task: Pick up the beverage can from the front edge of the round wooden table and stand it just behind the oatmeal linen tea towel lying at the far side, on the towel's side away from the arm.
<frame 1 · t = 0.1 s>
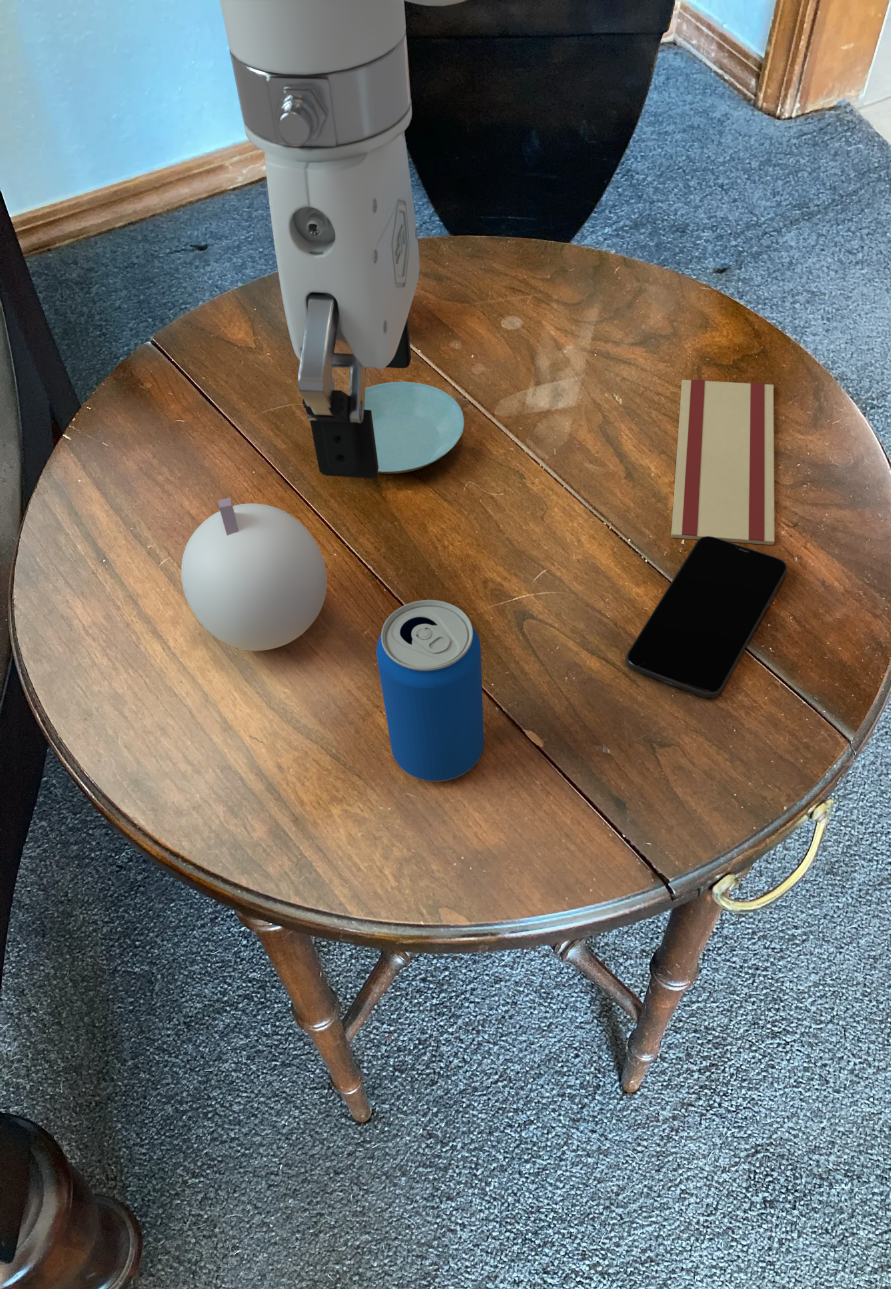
hand: (367, 416, 61), 22 cm above the table, tool pointing down, fingers open, 9 cm apart
tea towel: (724, 459, 91), on the table
smartphone: (707, 618, 81), on the table
ornament: (268, 627, 83), on the table
beverage can: (438, 751, 76), on the table
vase: (369, 329, 104), on the table
saucer: (397, 447, 94), on the table
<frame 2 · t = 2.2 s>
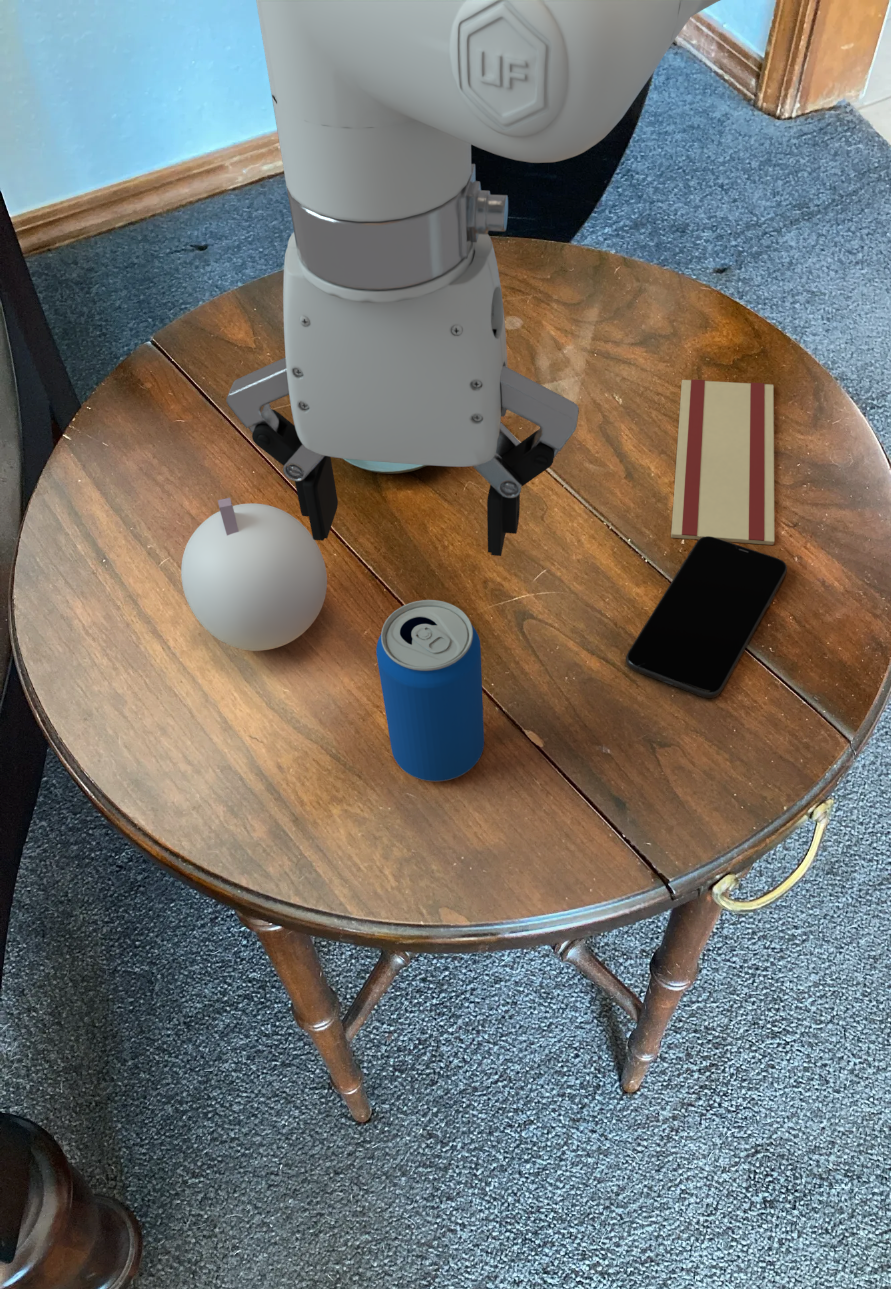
hand: (411, 530, 59), 20 cm above the table, tool pointing down, fingers open, 9 cm apart
nothing on the table moved.
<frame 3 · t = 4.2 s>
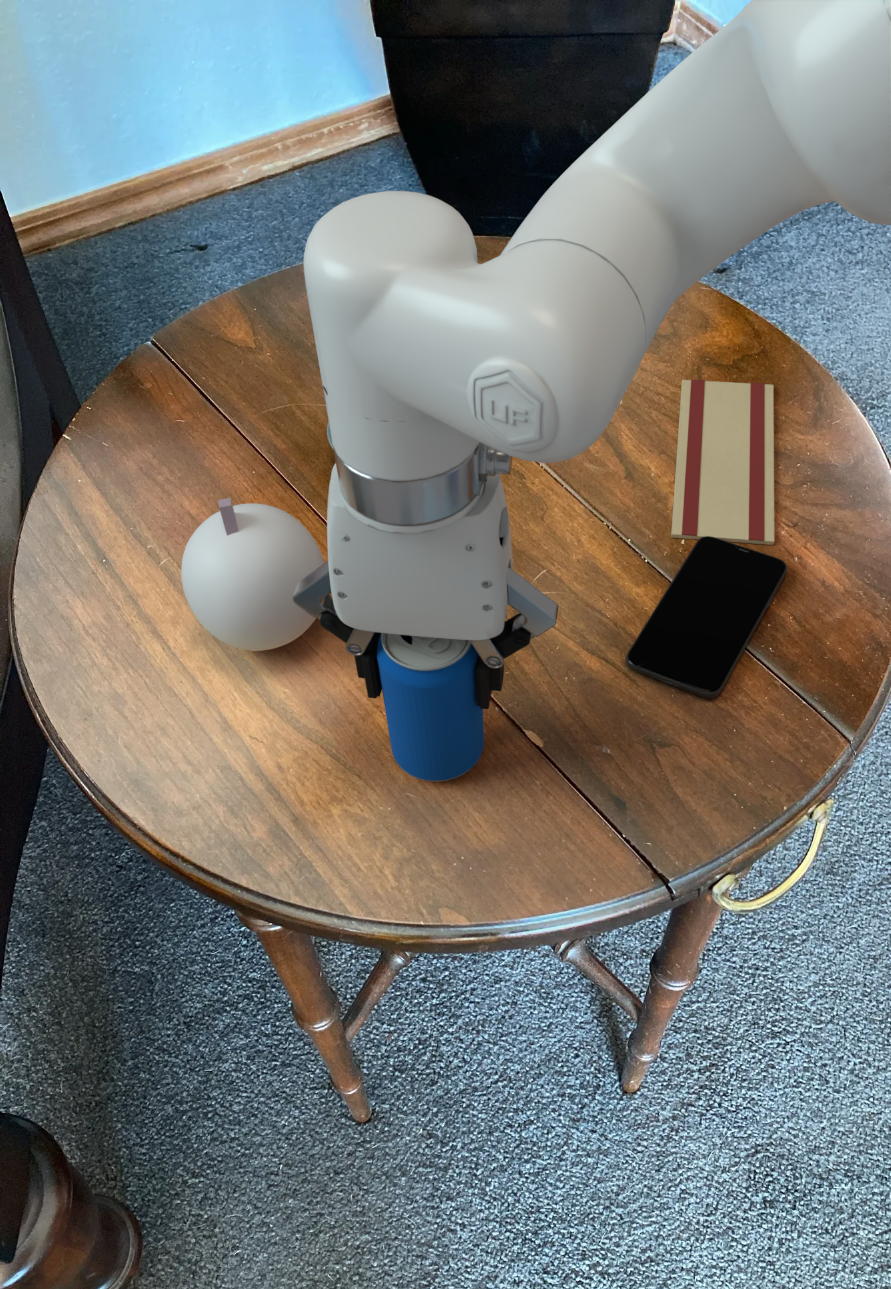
hand: (431, 685, 70), 7 cm above the table, tool pointing down, fingers closed on beverage can, 6 cm apart
beverage can: (438, 751, 76), on the table, touching gripper
everything else where it was.
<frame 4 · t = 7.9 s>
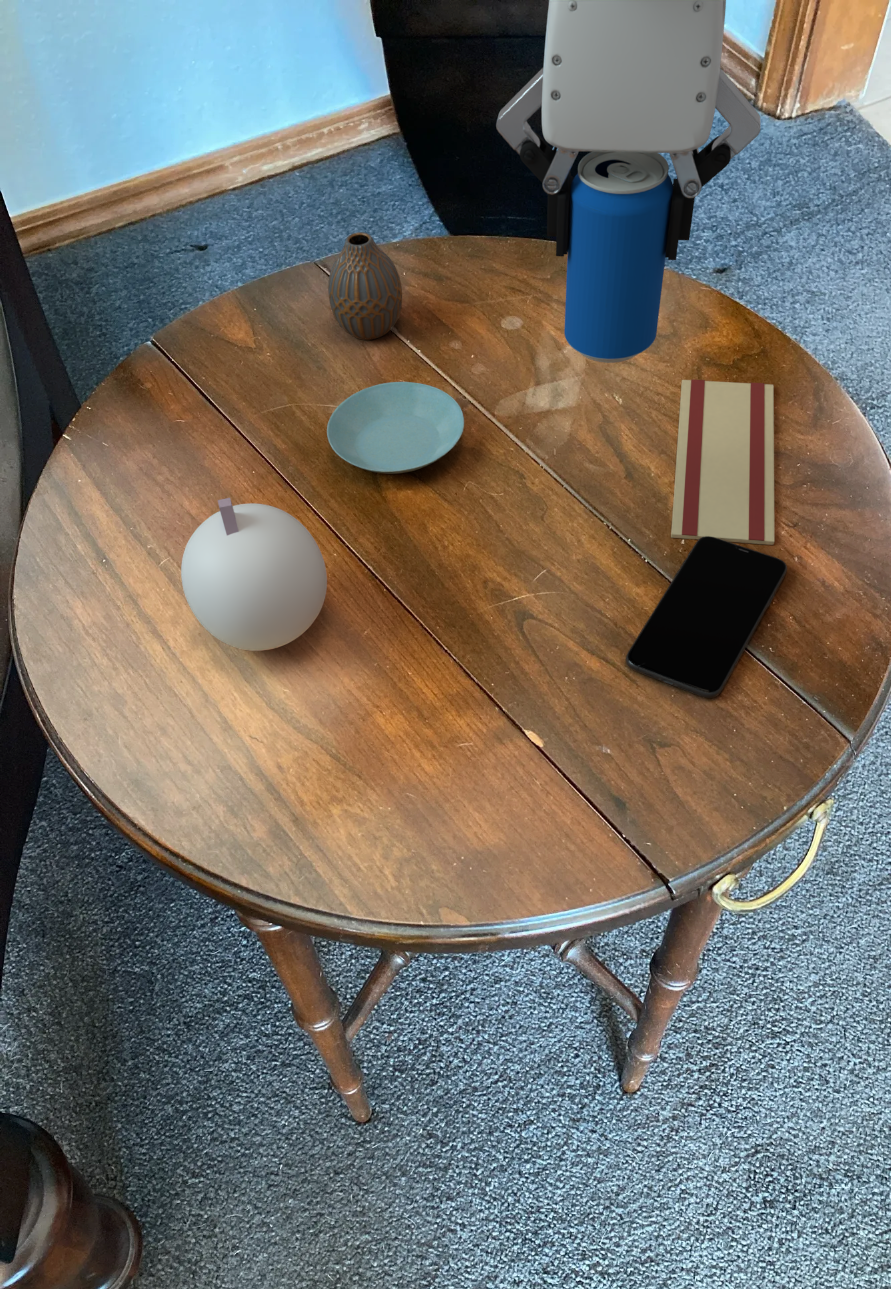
hand: (617, 244, 71), 22 cm above the table, tool pointing down, fingers closed on beverage can, 6 cm apart
beverage can: (609, 344, 77), point 14 cm above the table, touching gripper
everything else where it was.
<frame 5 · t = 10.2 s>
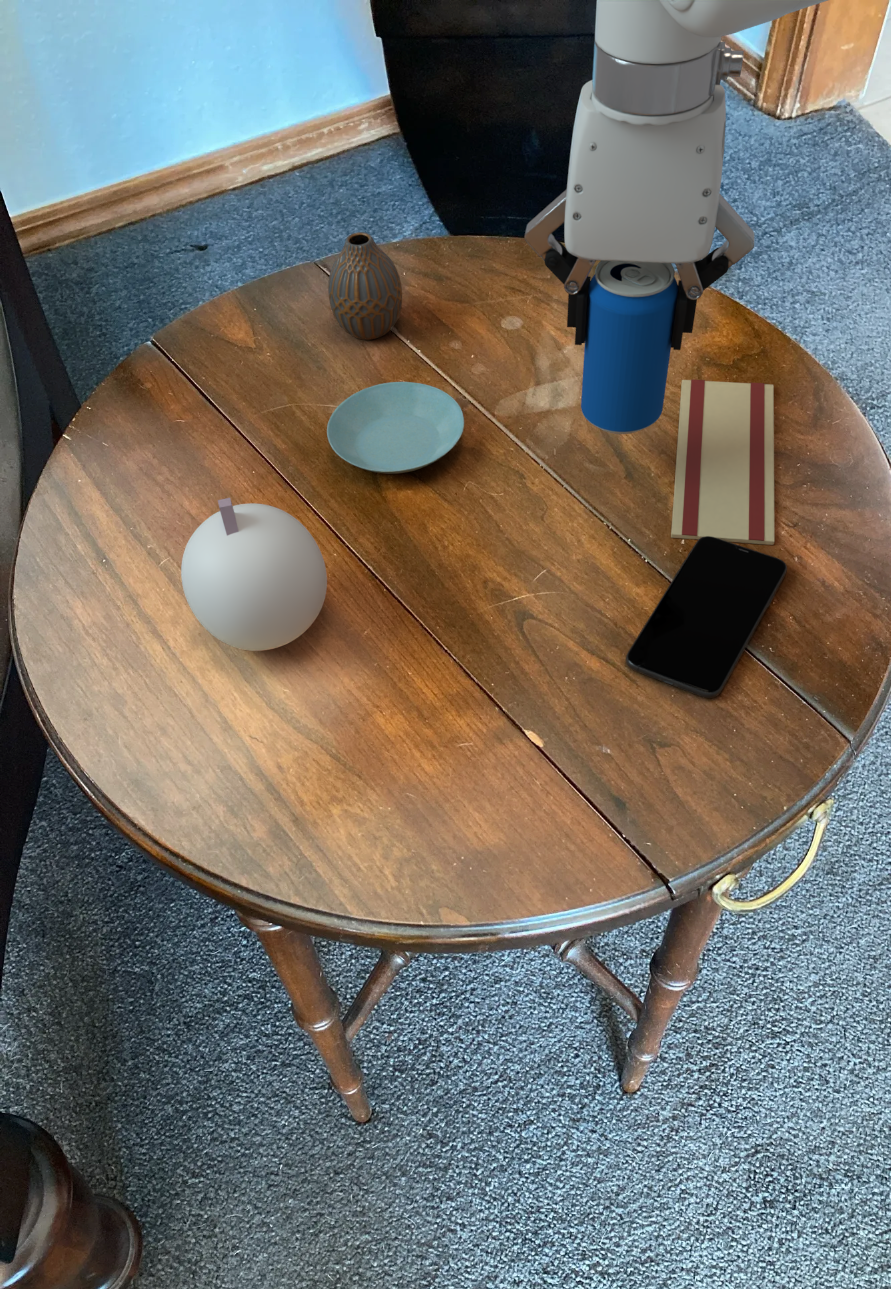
hand: (628, 334, 81), 12 cm above the table, tool pointing down, fingers closed on beverage can, 6 cm apart
beverage can: (620, 416, 87), point 5 cm above the table, touching gripper
everything else where it was.
when the fingers open (7 cm above the table, at t = 12.0 s): beverage can stays where it is, on the table.
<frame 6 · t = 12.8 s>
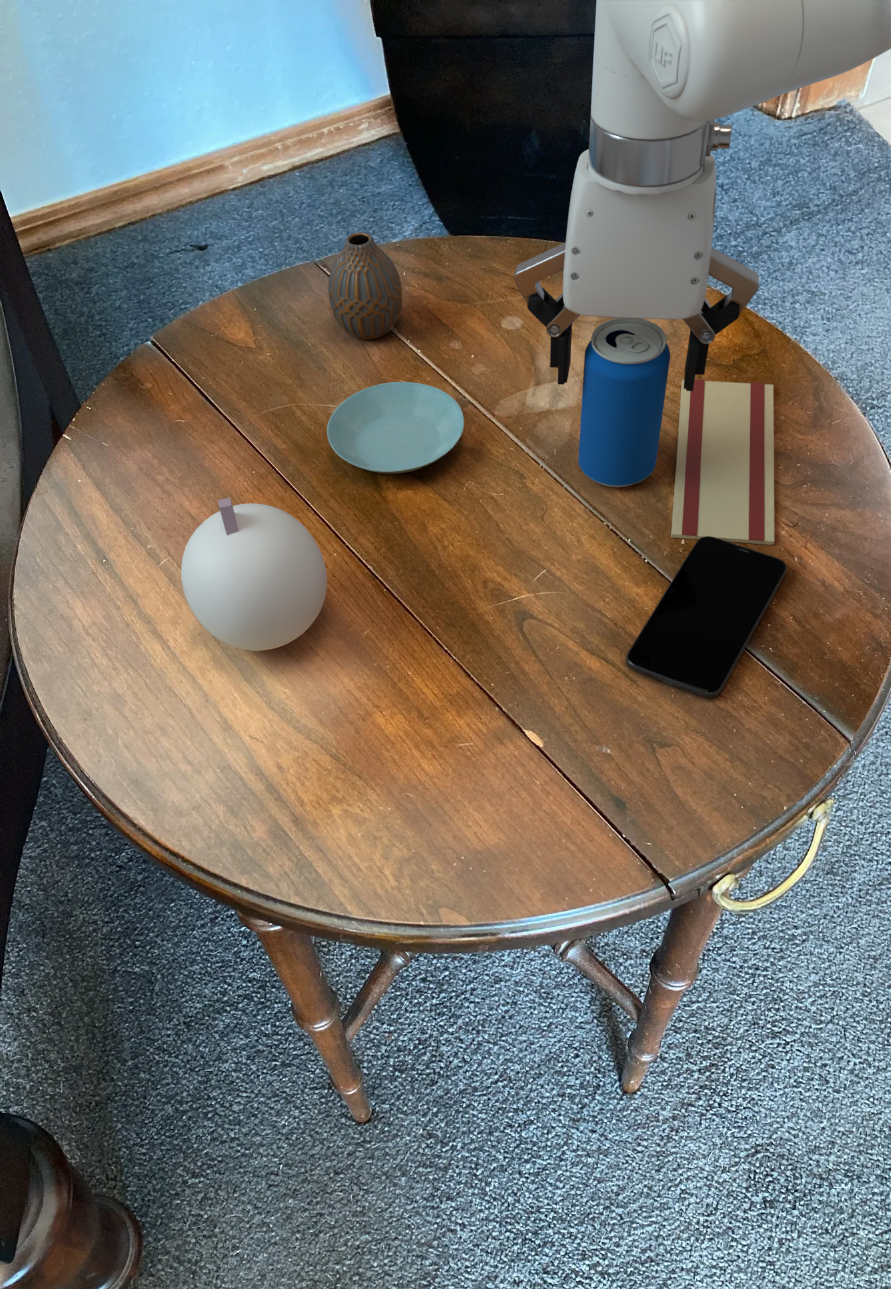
hand: (625, 377, 84), 9 cm above the table, tool pointing down, fingers open, 9 cm apart
beverage can: (616, 469, 91), on the table
everything else where it was.
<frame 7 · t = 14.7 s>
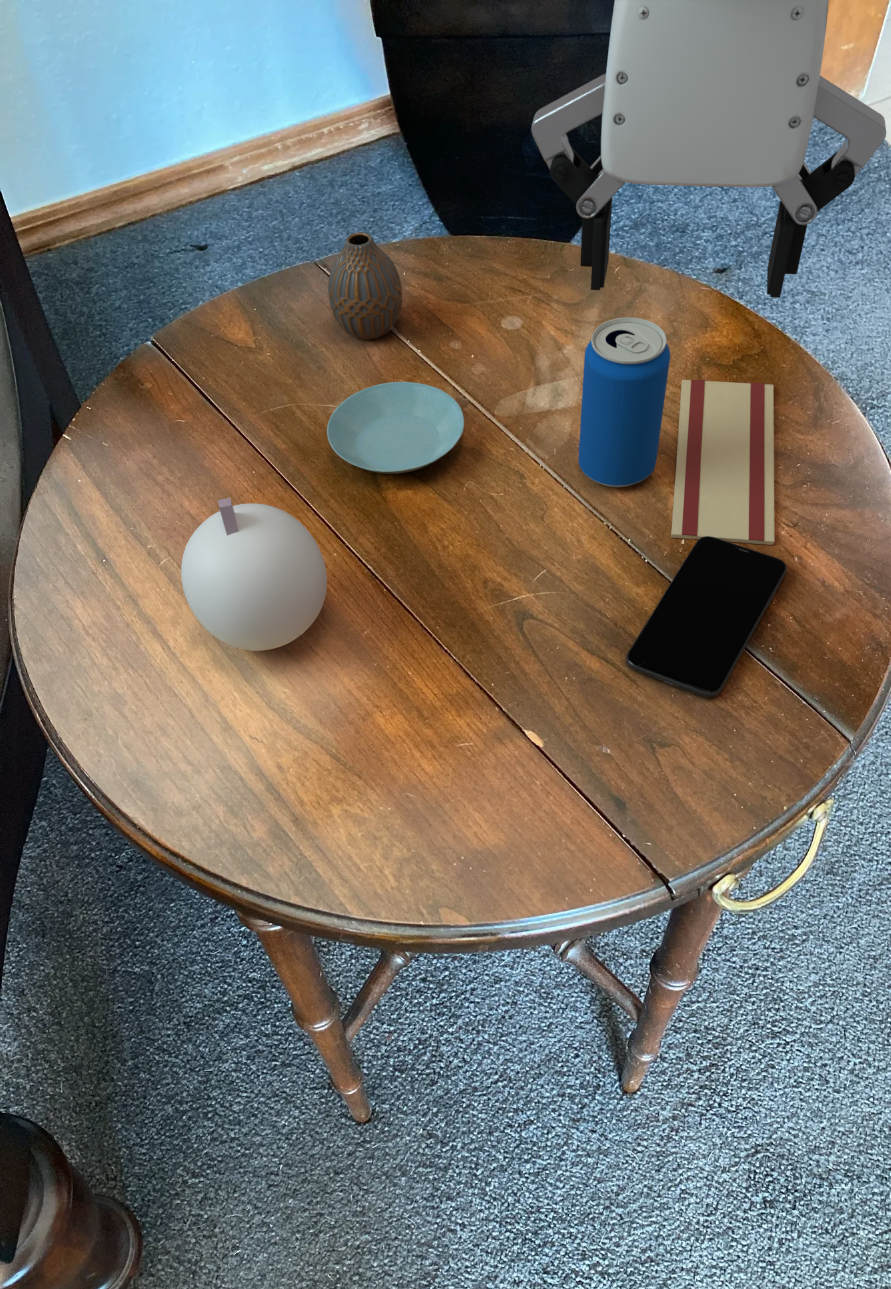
hand: (685, 280, 60), 26 cm above the table, tool pointing down, fingers open, 9 cm apart
nothing on the table moved.
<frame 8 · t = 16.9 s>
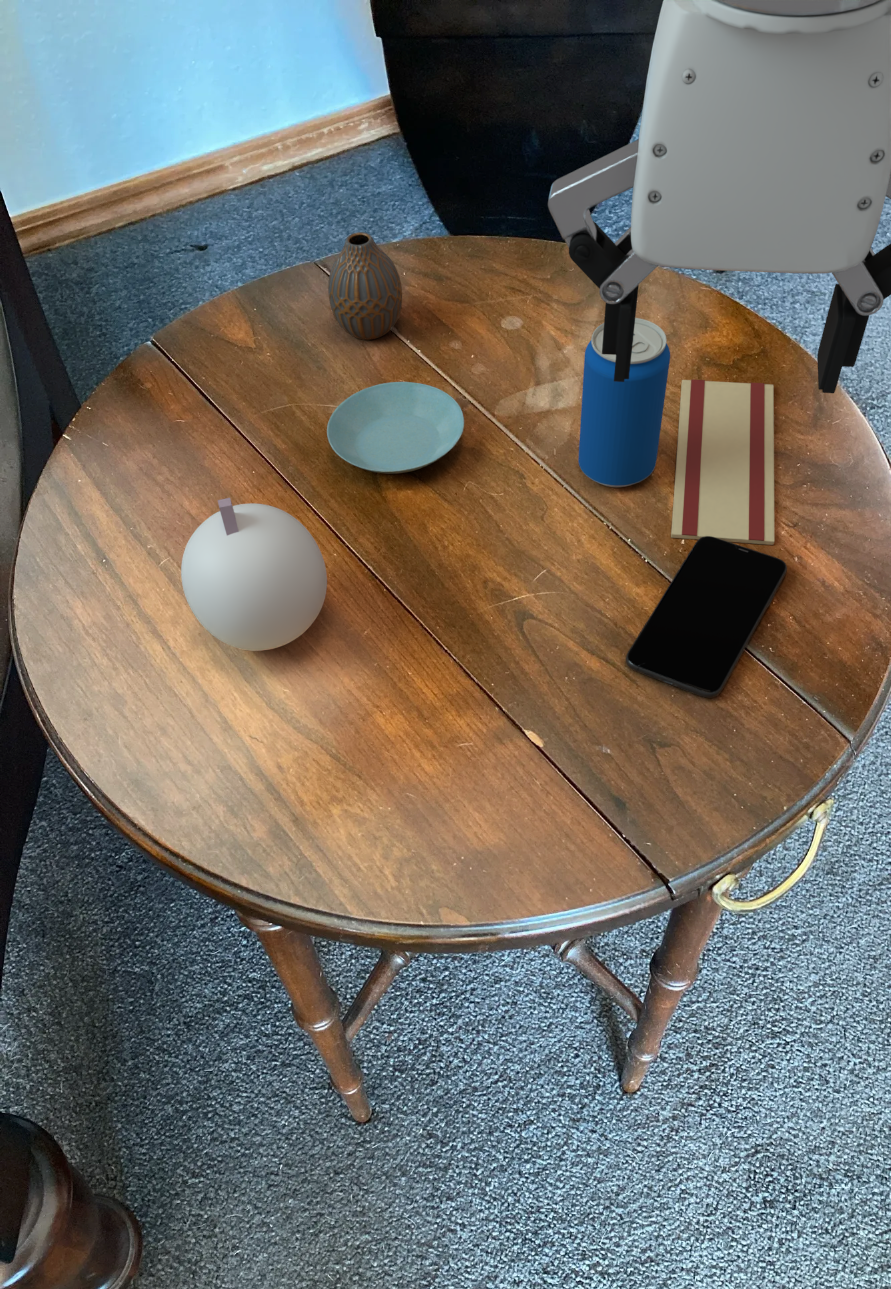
hand: (722, 370, 52), 28 cm above the table, tool pointing down, fingers open, 9 cm apart
nothing on the table moved.
at the end: beverage can inside the target area on the table beside the tea towel (2.2 cm from its centre), on the table; beverage can tilted 0°; the gripper is holding nothing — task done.
